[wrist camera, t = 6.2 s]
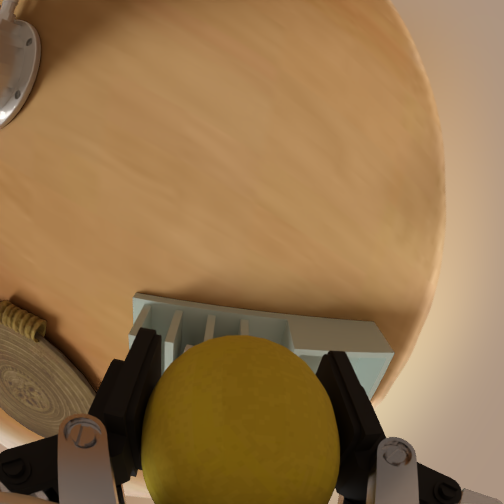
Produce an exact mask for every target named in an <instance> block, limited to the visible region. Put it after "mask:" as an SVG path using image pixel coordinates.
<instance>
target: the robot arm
mask: <svg viewBox="0 0 504 504" xmlns="http://www.w3.org/2000/svg"><path fill="white" fill-rule="evenodd" d="M18 2H19V0H3V3H2V7H1V5H0V9H1V10H0V129H1V128H2V127H4V126H5V125H6V124H8V123H9V122H10V121H11V120H12V119H13V118H14V117H15V115H16V114H17V113H18V112H19V111H20V109H21V107H22V106H23V104H24V103H25V101H26V99H27V97H28V95H29V93H30V92H31V89H32V87H33V84H34V82H35V79H36V76H37V72H38V69H39V63H40V57H41V44H40V37H39V35H38V32H37V30H36V29H35V28H34V27H33V25H31V24H29V23H28V22H25V21H23V20H15V17H16V16H15V14H13V13H14V10H15V8H16V6H17V5H18ZM161 344H162V336H161V335H158V334H157V333H156V330H154V329H148V328H143V327H140V328H139V330H138V333H137V335H136V337H135V339H134V341H133V344H132V346H131V348H130V350H129V353H128V355H127V357H126V359H125V361H122V360H117V359H114V360H112V362H111V364H110V366H109V368H108V370H107V372H106V374H105V376H104V378H103V381H102V383H101V385H100V387H99V389H98V391H97V394H96V396H95V398H94V400H93V402H92V405H91V407H90V409H89V411H88V414H83V413H81V414H74V415H71V416H68V417H67V418H65V419H64V420H63V421H62V423H61V424H60V426H59V430H58V434H57V435H54V436H51V437H48V438H45V439H41V440H38V441H35V442H32V443H28V444H25V445H21V446H18V447H14V448H11V449H7V450H5V451H3V452H1V453H0V504H126V500H125V495H124V490H123V483H125V482H127V481H129V480H130V477H131V476H135V477H136V475H137V470H138V469H139V470H142V463H141V435H142V427H143V420H144V415H145V410H146V406H147V403H148V400H149V398H150V395H151V393H152V391H153V389H154V387H155V386H156V384H157V382H158V381H159V379H160V378H161ZM315 375H316V376H317V378H318V379H319V381H320V382H321V384H322V385H323V387H324V388H325V390H326V392H327V394H328V396H329V399H330V401H331V404H332V407H333V411H334V415H335V419H336V423H337V428H338V434H339V441H340V465H339V474H338V478H337V482H336V486H335V488H336V491H337V493H339V498H338V504H502V502H501V501H499V500H498V499H495V498H492V497H489V496H486V495H482V494H480V493H477V492H474V491H471V490H468V489H465V488H464V489H463V490H462V491H461V488H460V486H459V484H458V483H457V482H456V481H455V480H453V479H452V478H450V477H448V476H445V475H443V474H441V473H439V472H437V471H435V470H432V469H430V468H428V467H426V466H424V465H422V464H419V463H418V462H417V461H416V453H415V450H414V448H413V447H412V446H411V445H410V444H409V443H408V442H407V441H405V440H403V439H401V438H397V437H389V438H386V436H385V434H384V432H383V429H382V427H381V425H380V423H379V420H378V418H377V416H376V414H375V411H374V409H373V407H372V405H371V402H370V400H369V398H368V396H367V394H366V391H365V389H364V388H363V386H361V384H360V382H359V380H358V378H357V375H356V373H355V371H354V369H353V367H352V365H351V362H350V360H349V358H348V356H347V354H346V352H344V351H329V352H328V353H327V354H324V355H323V357H322V359H321V362H320V364H319V367H318V369H317V372H316V374H315Z"/></svg>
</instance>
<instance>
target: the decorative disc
mask: <svg viewBox="0 0 504 504" xmlns="http://www.w3.org/2000/svg"><path fill="white" fill-rule="evenodd" d="M45 332H46V320H43V319H40V318H39V317H38V316H34V315H33V314H32V313H28V312H27V311H26V310H22V309H20V308H19V307H16V305H14V304H12V303H11V302H9V301H8V300H4V301H2V302H0V407H1V408H2V409H3V410H4V411H5V412H6V413H7V414H8V415H9V416H11V417H12V418H13V419H15V420H16V421H17V422H19V423H20V424H22V425H23V426H24V427H26V428H28V429H29V430H31V431H33V432H35V433H36V434H38V435H40V436H42V437H45V438H48V437H51V436H54V435H57V434H58V430H59V426H60V424H61V423H62V421H63V420H64V419H65V418H67V417H68V416H71V415H74V414H81V413H83V414H88V411H89V409H90V407H91V405H92V402H93V400H94V398H95V396H96V392H95V391H94V389H93V388H92V387H91V385H90V384H89V382H88V381H87V379H86V378H85V376H84V375H83V374H82V373H81V372H80V371H79V370H78V369H77V368H76V367H75V366H74V365H73V364H72V363H71V362H70V361H69V360H68V359H67V357H66V356H65V355H64V354H63V353H62V352H61V351H60V350H58V349H57V348H56V347H55V346H54V345H52V344H51V343H50V342H49V341H48V340H46V339H45V338H44V335H45Z"/></svg>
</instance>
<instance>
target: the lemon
mask: <svg viewBox="0 0 504 504" xmlns="http://www.w3.org/2000/svg"><path fill="white" fill-rule="evenodd" d="M141 463H142V470H143V476H144V479H145V483H146V486H147V489H148V491H149V493H150V495H151V497H152V499H153V501H154V503H155V504H328V502H329V500H330V498H331V496H332V493H333V491H334V489H335V486H336V482H337V478H338V474H339V465H340V441H339V434H338V428H337V423H336V419H335V415H334V411H333V407H332V404H331V401H330V399H329V396H328V394H327V392H326V390H325V388H324V387H323V385H322V384H321V382H320V381H319V379H318V378H317V376H316V375H315V374H314V372H313V371H312V370H311V368H310V367H309V366H308V365H307V363H306V362H305V361H303V360H302V359H301V358H300V357H298V356H297V355H296V354H294V353H293V352H292V351H290V350H289V349H288V348H286V347H284V346H282V345H280V344H277V343H275V342H272V341H270V340H268V339H265V338H259V337H254V336H249V335H227V336H222V337H218V338H213V339H209V340H207V341H204V342H202V343H200V344H198V345H195V346H193V347H191V348H189V349H188V350H187V351H186V352H184V353H183V354H182V355H180V356H179V357H178V358H177V359H175V360H174V361H173V362H172V363H171V364H170V365H169V366H168V368H167V369H166V370H165V372H164V373H163V375H162V376H161V378H160V379H159V381H158V382H157V384H156V386H155V387H154V389H153V391H152V393H151V395H150V398H149V400H148V403H147V406H146V410H145V415H144V420H143V427H142V435H141Z"/></svg>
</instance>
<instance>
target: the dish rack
mask: <svg viewBox="0 0 504 504" xmlns="http://www.w3.org/2000/svg"><path fill="white" fill-rule="evenodd" d="M140 327H143V328H148V329H154V330H156V333H157V334H158V335H161V336H162V344H161V376H162V375H163V373H164V372H165V370H166V369H167V368H168V366H169V365H170V364H171V363H172V362H173V361H174V360H175V359H177V358H178V357H179V356H180V355H182V354H183V353H184V352H186V351H187V350H188V349H189V348H191V347H193V346H195V345H198V344H200V343H202V342H204V341H207V340H209V339H213V338H218V337H222V336H227V335H249V336H254V337H259V338H265V339H268V340H270V341H272V342H275V343H277V344H280V345H282V346H284V347H286V348H288V349H289V350H290V351H292V352H293V353H294V354H296V355H297V356H298V357H300V358H301V359H302V360H303V361H305V362H306V363H307V365H308V366H309V367H310V368H311V370H312V371H313V372H314V374H316V372H317V369H318V367H319V364H320V362H321V359H322V357H323V355H324V354H327V353H328V352H329V351H344V352H346V354H347V356H348V358H349V360H350V362H351V365H352V367H353V369H354V371H355V373H356V375H357V378H358V380H359V382H360V384H361V386H363V388H364V389H365V391H366V394H367V396H368V398H369V400H371V398H372V396H373V395H374V393H375V391H376V389H377V387H378V385H379V383H380V381H381V379H382V378H383V376H384V374H385V372H386V370H387V368H388V366H389V364H390V362H391V359H392V357H393V355H394V351H393V350H392V348H391V346H390V345H389V343H388V342H387V340H386V339H385V337H384V336H383V334H382V333H381V331H380V330H379V328H378V327H377V325H376V324H375V322H371V321H357V320H344V319H332V318H321V317H311V316H300V315H291V314H282V313H273V312H264V311H256V310H248V309H240V308H232V307H225V306H217V305H210V304H203V303H196V302H190V301H183V300H177V299H171V298H164V297H158V296H152V295H147V294H141V293H135V295H134V296H133V327H132V329H131V331H130V333H129V350H130V348H131V346H132V344H133V341H134V339H135V337H136V335H137V333H138V330H139V328H140Z"/></svg>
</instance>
